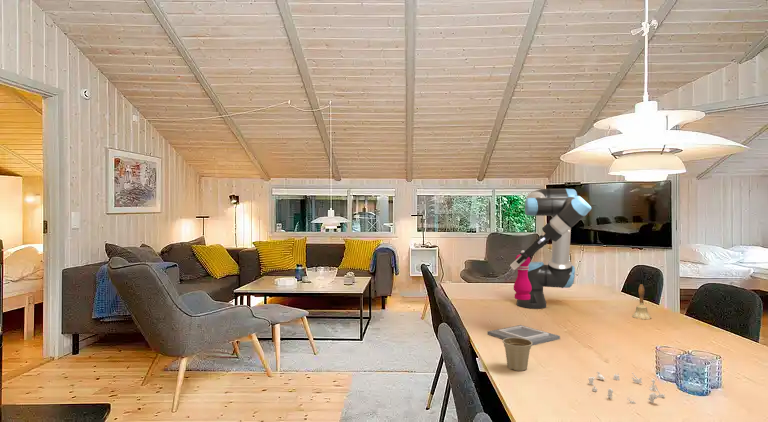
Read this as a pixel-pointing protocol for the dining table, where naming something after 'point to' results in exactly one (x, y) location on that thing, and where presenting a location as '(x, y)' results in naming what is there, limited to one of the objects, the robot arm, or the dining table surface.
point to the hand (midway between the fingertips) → (513, 266)
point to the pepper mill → (523, 281)
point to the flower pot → (517, 353)
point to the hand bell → (641, 306)
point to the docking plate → (524, 334)
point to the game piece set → (616, 377)
